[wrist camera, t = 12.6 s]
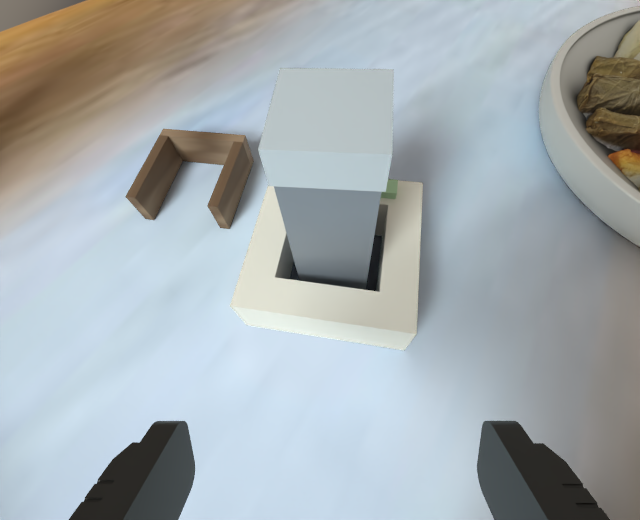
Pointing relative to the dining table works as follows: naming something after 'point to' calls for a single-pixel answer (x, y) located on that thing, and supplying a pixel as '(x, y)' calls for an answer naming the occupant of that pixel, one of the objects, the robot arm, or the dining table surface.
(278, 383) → the dining table surface
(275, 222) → the frame
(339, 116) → the plug
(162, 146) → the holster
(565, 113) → the bowl
